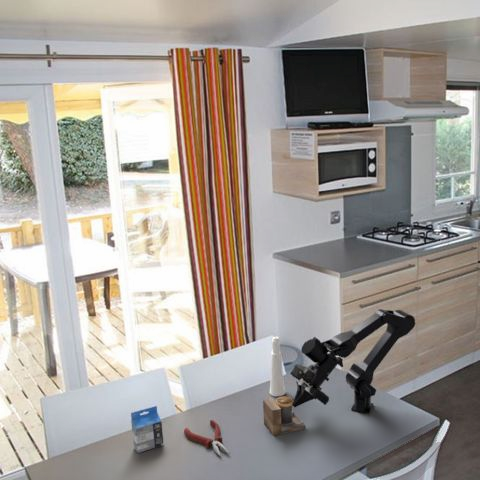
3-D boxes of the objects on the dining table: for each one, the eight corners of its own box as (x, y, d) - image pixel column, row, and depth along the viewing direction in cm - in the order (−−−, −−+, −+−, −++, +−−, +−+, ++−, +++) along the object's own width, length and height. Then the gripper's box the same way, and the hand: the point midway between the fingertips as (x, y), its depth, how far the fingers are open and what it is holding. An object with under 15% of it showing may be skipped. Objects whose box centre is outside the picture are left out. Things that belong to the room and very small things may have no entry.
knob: (288, 416, 197) (287, 394, 195) (296, 425, 191) (295, 402, 190) (273, 419, 195) (273, 398, 193) (281, 428, 190) (280, 406, 188)
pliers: (208, 465, 175) (208, 457, 174) (182, 434, 192) (182, 427, 192) (242, 453, 180) (241, 445, 180) (213, 424, 198) (213, 417, 197)
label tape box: (137, 453, 182) (134, 418, 179) (133, 447, 185) (130, 412, 182) (164, 445, 185) (161, 410, 183) (159, 439, 189) (156, 405, 186)
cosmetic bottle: (266, 392, 217) (264, 337, 213) (278, 387, 221) (276, 333, 216) (276, 398, 213) (274, 341, 208) (288, 393, 216) (287, 337, 211)
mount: (295, 416, 199) (294, 392, 197) (305, 428, 192) (304, 403, 190) (263, 424, 195) (263, 399, 193) (273, 436, 188) (272, 410, 186)
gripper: (294, 346, 200) (266, 382, 199) (319, 367, 183) (288, 406, 182) (315, 363, 204) (288, 398, 203) (342, 385, 187) (312, 424, 186)
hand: (293, 406), depth 193 cm, fingers closed
